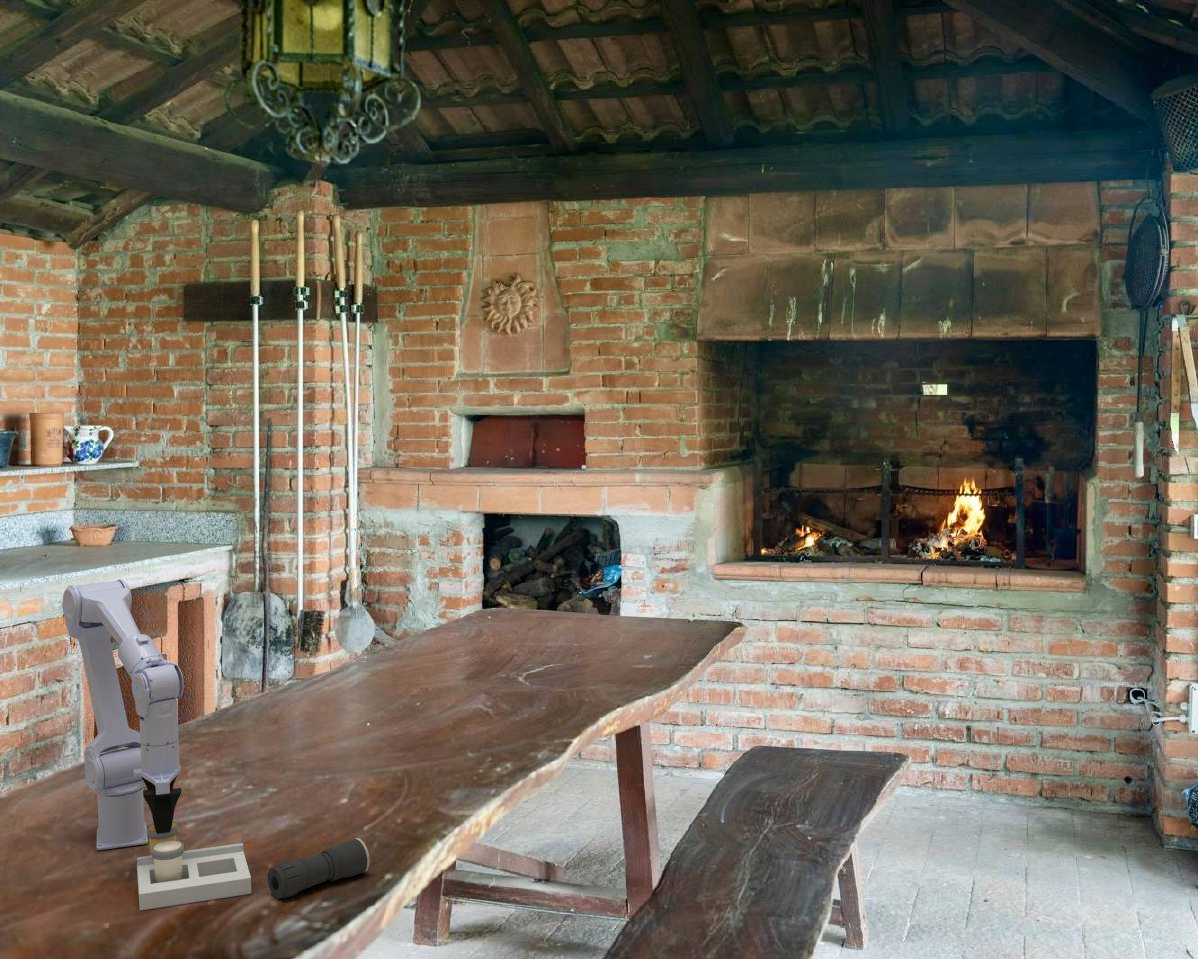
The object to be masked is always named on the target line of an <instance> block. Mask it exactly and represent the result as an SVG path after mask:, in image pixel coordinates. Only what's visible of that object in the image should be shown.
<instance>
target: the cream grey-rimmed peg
mask: <svg viewBox="0 0 1198 959" xmlns="http://www.w3.org/2000/svg"><path fill="white" fill-rule="evenodd" d="M184 851H185V849H184V843H183V842H182V841H180V840H176V841H164V842H160V843H157V844H155V845H154V846H153V847H152V857H153V858H154V870H155V883H161V882H168V881H175V880H182V855H183V853H184Z"/></svg>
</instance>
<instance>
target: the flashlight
mask: <svg viewBox="0 0 1198 959" xmlns="http://www.w3.org/2000/svg"><path fill="white" fill-rule="evenodd" d="M370 862H371V861H370V853H369V850H368V847H367V845H366V844H365V842H364V841H363V840H362V838H359V837H356V838H352V839H349V840H346V841H344V842H340V843H338V844H336V845H335V846H333V847H330V848H327V849H323V850H322V851H321V853H320V854H316V855H312V856H309V857H307V858H301V859H298V860H293V861H290V860H287V861H283V862H280V863H277V864H275V865H273V867H272V868H270V869H269V870H268V871H267V872H268V873H267V883H268V888H269V891H270V892H271V895H272V896H273V897H274V898H275V899H288V898H291V897H294V896H296V895H297V894H299V893H300V892H302V891H303V890H307V889H310V888H311V887H312V886H315V885H318V884H322V883H325V882H326V881H328V882H331V883H332V882H335V881H338V880H340V879H349V878H352V877H354V876H358V875H360V874H363V873H366V872H367V871H368V870H369V868H370Z"/></svg>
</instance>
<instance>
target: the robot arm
mask: <svg viewBox="0 0 1198 959" xmlns="http://www.w3.org/2000/svg"><path fill="white" fill-rule="evenodd" d="M132 599H133V598H132V592H131V588H130V586H129V584H128V583H127V582H126V581H125V580H124V579H122V578H119V579H116V580H111V581H104V582H103V581H102V582H95V583H93V582H92V583H86V584H79V585H75V584H71V585H70V584H69V585H68V586H67V587H66V588H65V590H64V592H63V595H62V606H61V609H62V612H63V618H64V622H65V628H66V630H67V634H68V636H69V637H71V638H73V639H75V640H78V645H79V647H80V648H79V649H80V652H81V656H82V661H83V667H84V671H85V675H86V676H85V677H86V681H87V686H88V691H89V695H90V696H89V697H90V701H91V706H92V711H93V715H94V720H95V726H96V730H97V735H96V736H95V737H94V738H93V740H91V741H90V743H89V744H88V745H87V746H86V747H85V750H84V752H83V753H84V754H83V756H84V775H85V781H86V783H87V786H88V787H89V789H90V790H91V791H93V792H94V793H96V794H97V813H98V814H97V815H98V816H97V817H98V828H96V850H97V851H102V850H103V851H104V850H110V849H118V848H119V849H120V848H125V847H132V846H141V845H146V844H148V843H149V839H148V838H149V837H148V836H147V827H148V826H147V822H146V821H145V805H144V804H145V802H146V804H147V806H148V807H149V809H150V812H151V813H150V814H151V817H152V821H153V823H154V827H155V830H156V833H157V834H161V833H169V832H171V828H172V823H173V822H174V816H175V815H174V814H175V809H176V805H177V803H178V800H179V798H180V796H181V794H182V787H177V788H174V785H175V783H176V780H177V778H178V776H179V774H181V771H182V768H181V766H182V765H180V744H179V743H180V742H179V713H178V711H179V709H178V699H181V697H182V696H183V694H184V688H185V684H184V683H185V682H184V676H183V672H182V671H181V668H180V667H179V665H178V664H177V662H174V661H173V662H172V661H171V660H170V659H168V660H166V659H165V658H164V656H163V655H162V653H161V652H160V650H159V648H158V647H157V646H156V644H155V643H154V640H153V639H152V638H151V636H149V635H147V634H143V633H142V634H141V632H140V630H139V629H138V626H137V624H136V622H135V620H134V618H133V615H132V613H131V610H132V602H133V600H132ZM111 638H113V639H114V641H115V642H117V644H118V646H119V647H118V648H117V657H118V659H119V660H120V662H121V664H122V666H123V667H124V669H125V671H126V672H127V674H128V675H129V677H130V679H131V690H132V691H131V692H132V695H133V696H132V697H133V699H134V703H135V712H136V714H137V715H138V716H139V732H138V731H137V730H134V729H132V728H130V727H129V723H128V719H127V713H126V709H125V705H124V704H125V703H124V699H123V695H122V690H121V685H120V680H119V675H118V671H117V666H116V662H115V657H114V652H113V647H112V642H111ZM144 788H146V789H144Z"/></svg>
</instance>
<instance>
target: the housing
mask: <svg viewBox="0 0 1198 959" xmlns="http://www.w3.org/2000/svg"><path fill="white" fill-rule="evenodd" d="M136 872H137V874H136V875H137V889H138V890H137V892H138V905H139V908H138V909H139V911H146V910H151V909H152V910H153V909H157V908H165V907H173V906H179V905H184V904H185V905H186V904H191V903H197V902H198V903H199V902H204V901H205V902H206V901H211V900H216V899H217V900H218V899H225V898H230V897H238V896H245V895H251V894H252V877H251V873H250V869H249V867H248V863H247V859H246V855H245V852H244V843H243V842H240V843H233V844H227V845H218V846H217V845H216V846H211V847H203V848H197V849H196V848H195V849H188V850H184V853H183V855H182V880H175V881H168V882H161V883H155V870H154V858H153V857H152V855H151V856H150V855H146V856H139V857H138V856H137V857H136Z"/></svg>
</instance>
